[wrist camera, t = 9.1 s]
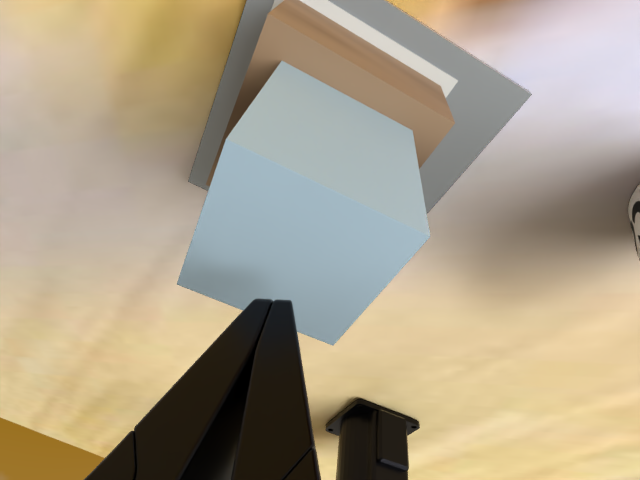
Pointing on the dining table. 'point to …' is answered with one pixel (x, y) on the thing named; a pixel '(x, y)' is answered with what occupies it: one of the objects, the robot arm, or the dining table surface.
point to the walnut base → (344, 74)
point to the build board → (411, 49)
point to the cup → (635, 217)
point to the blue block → (309, 206)
